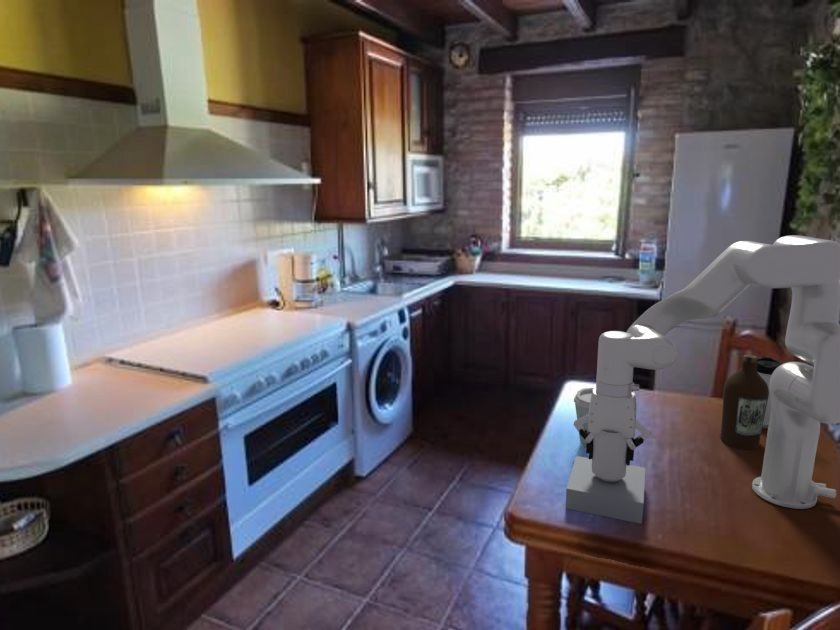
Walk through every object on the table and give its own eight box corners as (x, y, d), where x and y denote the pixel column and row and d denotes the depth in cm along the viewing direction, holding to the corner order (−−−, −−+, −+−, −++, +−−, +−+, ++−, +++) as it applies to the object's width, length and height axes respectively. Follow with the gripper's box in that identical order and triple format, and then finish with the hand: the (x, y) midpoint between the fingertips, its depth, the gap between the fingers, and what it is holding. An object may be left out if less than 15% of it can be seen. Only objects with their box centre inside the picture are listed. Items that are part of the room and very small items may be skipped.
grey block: (643, 486, 132) (645, 467, 131) (641, 524, 118) (643, 503, 117) (575, 474, 138) (576, 455, 137) (565, 508, 124) (566, 488, 123)
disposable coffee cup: (614, 454, 148) (618, 402, 144) (573, 451, 150) (575, 400, 146) (608, 436, 158) (611, 387, 154) (569, 434, 160) (572, 386, 156)
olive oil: (711, 432, 159) (720, 350, 153) (749, 433, 158) (760, 350, 152) (728, 450, 149) (739, 362, 143) (769, 451, 148) (782, 362, 142)
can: (598, 463, 132) (601, 417, 129) (630, 473, 127) (633, 425, 124) (586, 476, 126) (588, 428, 123) (618, 487, 122) (622, 437, 119)
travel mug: (771, 422, 165) (781, 358, 161) (771, 430, 160) (781, 365, 155) (747, 417, 169) (756, 355, 164) (746, 425, 163) (755, 361, 158)
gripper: (656, 386, 122) (650, 458, 126) (575, 377, 128) (572, 446, 133) (656, 398, 115) (650, 474, 119) (571, 388, 122) (567, 460, 126)
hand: (609, 459), depth 126 cm, fingers closed on can, 7 cm apart
